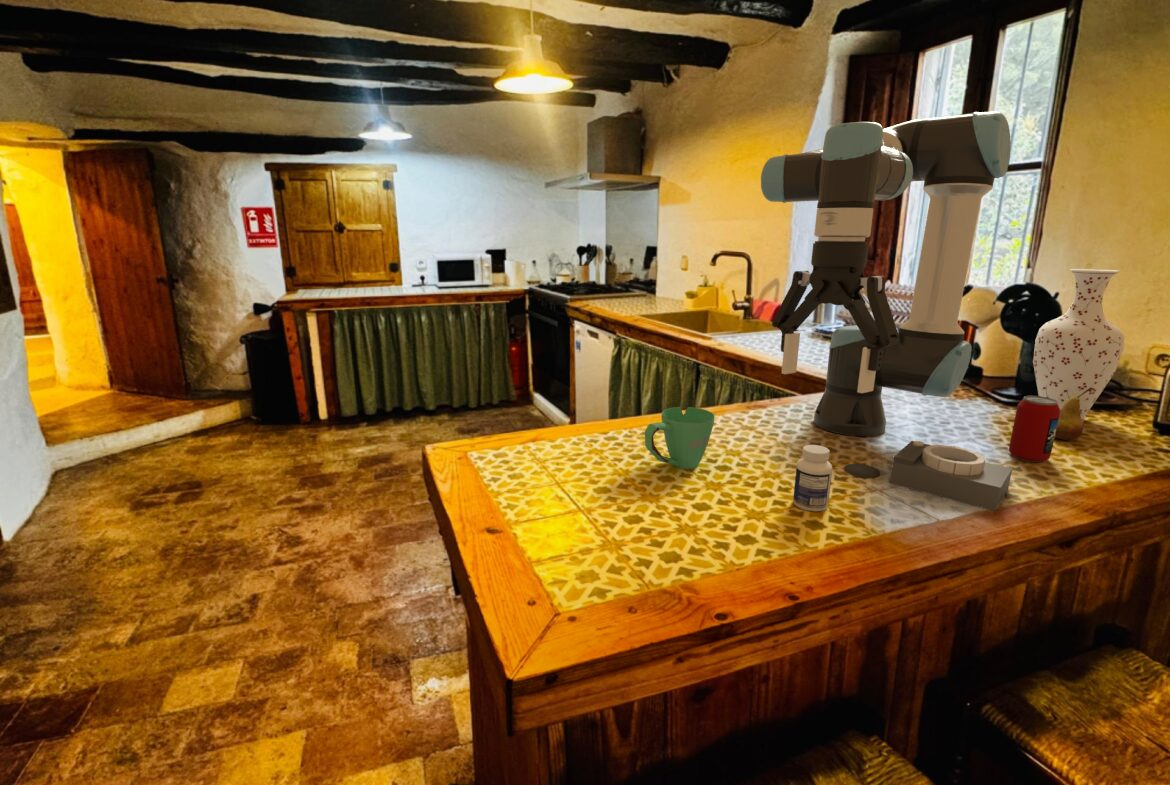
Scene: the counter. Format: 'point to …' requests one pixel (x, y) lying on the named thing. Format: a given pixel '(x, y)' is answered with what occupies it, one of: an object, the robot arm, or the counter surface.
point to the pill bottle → (813, 479)
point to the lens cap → (862, 470)
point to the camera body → (951, 474)
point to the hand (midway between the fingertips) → (824, 381)
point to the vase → (1079, 345)
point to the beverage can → (1034, 428)
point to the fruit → (1070, 420)
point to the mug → (682, 436)
